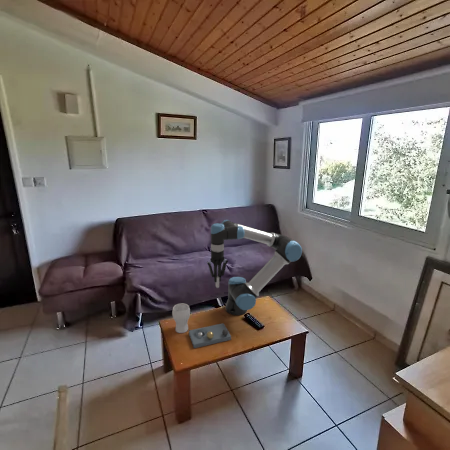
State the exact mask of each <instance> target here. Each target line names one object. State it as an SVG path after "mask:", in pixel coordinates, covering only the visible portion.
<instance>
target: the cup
mask: <svg viewBox="0 0 450 450" xmlns="http://www.w3.org/2000/svg"><path fill="white" fill-rule="evenodd" d="M171 315H172V318H173V320H174V321H175V332H176V333H178V334H185V333H186V332H188V331H189V325H188V321H189V319H190V317H191V316H190V315H191V309H190V305H188V304H187V303H181V302H180V303H177V304H174V306H173V307H172V313H171Z"/></svg>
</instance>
